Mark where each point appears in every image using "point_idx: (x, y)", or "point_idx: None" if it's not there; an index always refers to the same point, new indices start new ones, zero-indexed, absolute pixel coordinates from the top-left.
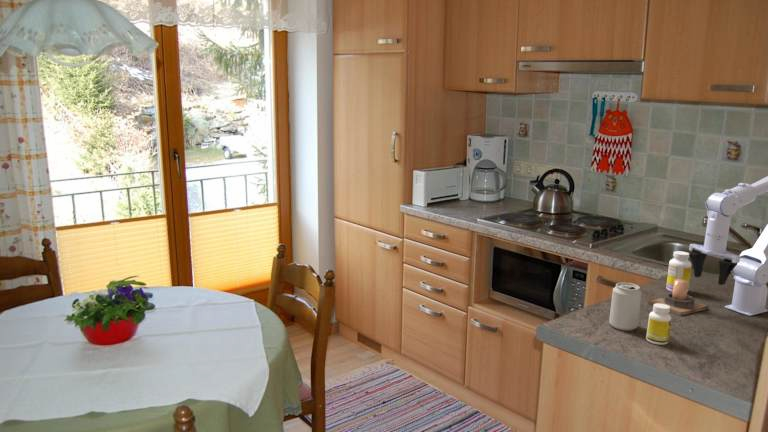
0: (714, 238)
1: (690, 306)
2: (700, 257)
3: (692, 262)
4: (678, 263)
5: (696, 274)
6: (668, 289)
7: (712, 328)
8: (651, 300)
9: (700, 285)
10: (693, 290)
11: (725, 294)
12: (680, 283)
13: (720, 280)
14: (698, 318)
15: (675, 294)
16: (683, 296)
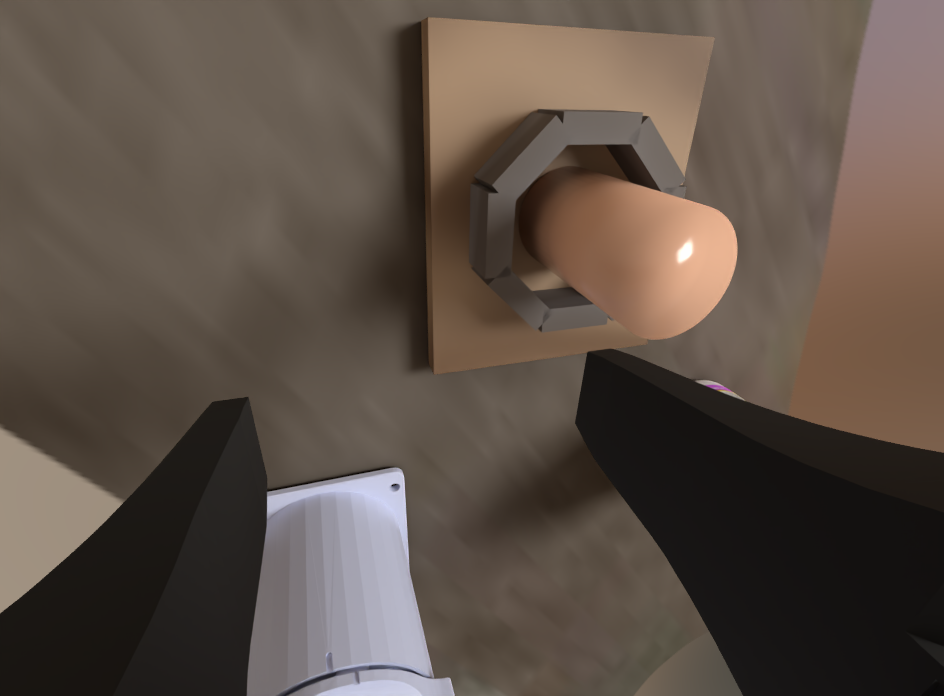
0: None
1: (472, 227)
2: (817, 619)
3: (817, 428)
4: None
5: (609, 365)
6: (710, 381)
7: None
8: (703, 66)
9: (642, 560)
10: None
11: (524, 585)
12: (657, 214)
13: (190, 432)
14: (316, 124)
15: (613, 180)
16: (556, 219)
